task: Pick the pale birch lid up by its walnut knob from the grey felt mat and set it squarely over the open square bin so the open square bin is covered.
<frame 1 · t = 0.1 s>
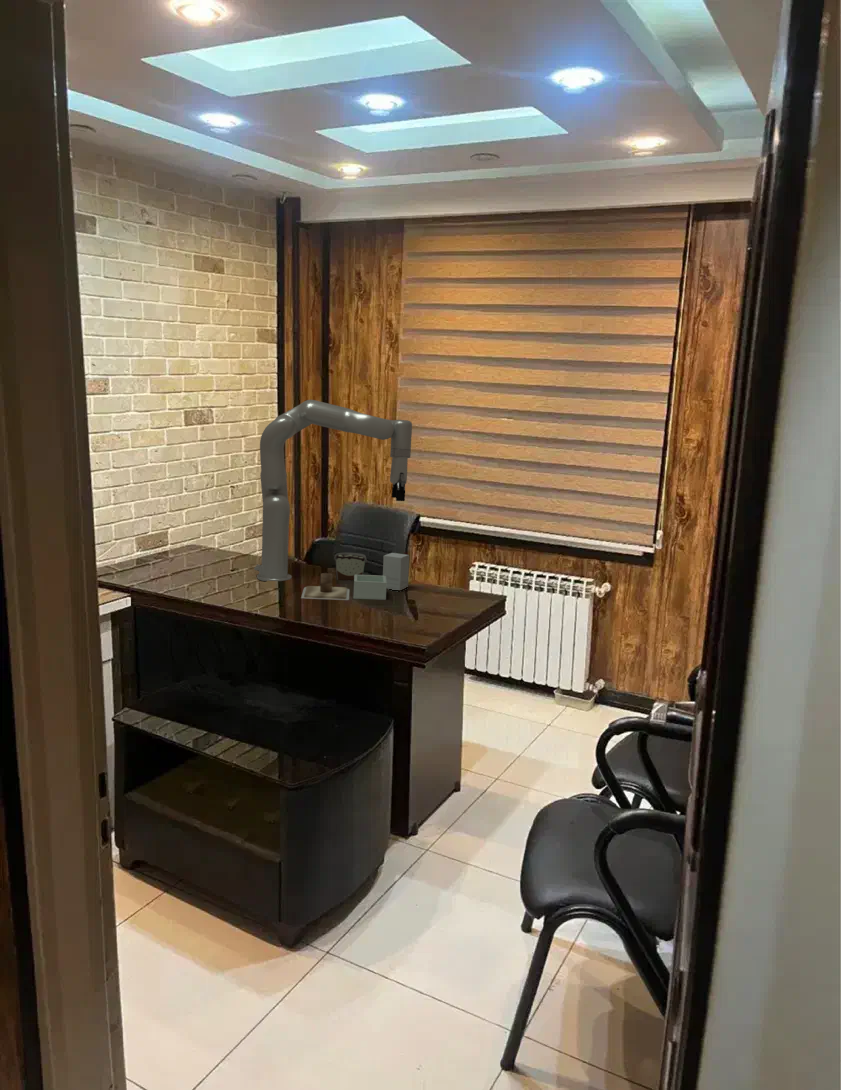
hand: (398, 499, 307), 31 cm above the table, tool pointing down, fingers open, 9 cm apart
mat: (325, 595, 282), on the table
supplement box: (394, 589, 298), on the table
grey half-round piece: (350, 580, 308), on the table
open square bin: (369, 596, 284), on the table
lid: (325, 593, 282), point 1 cm above the table, touching mat
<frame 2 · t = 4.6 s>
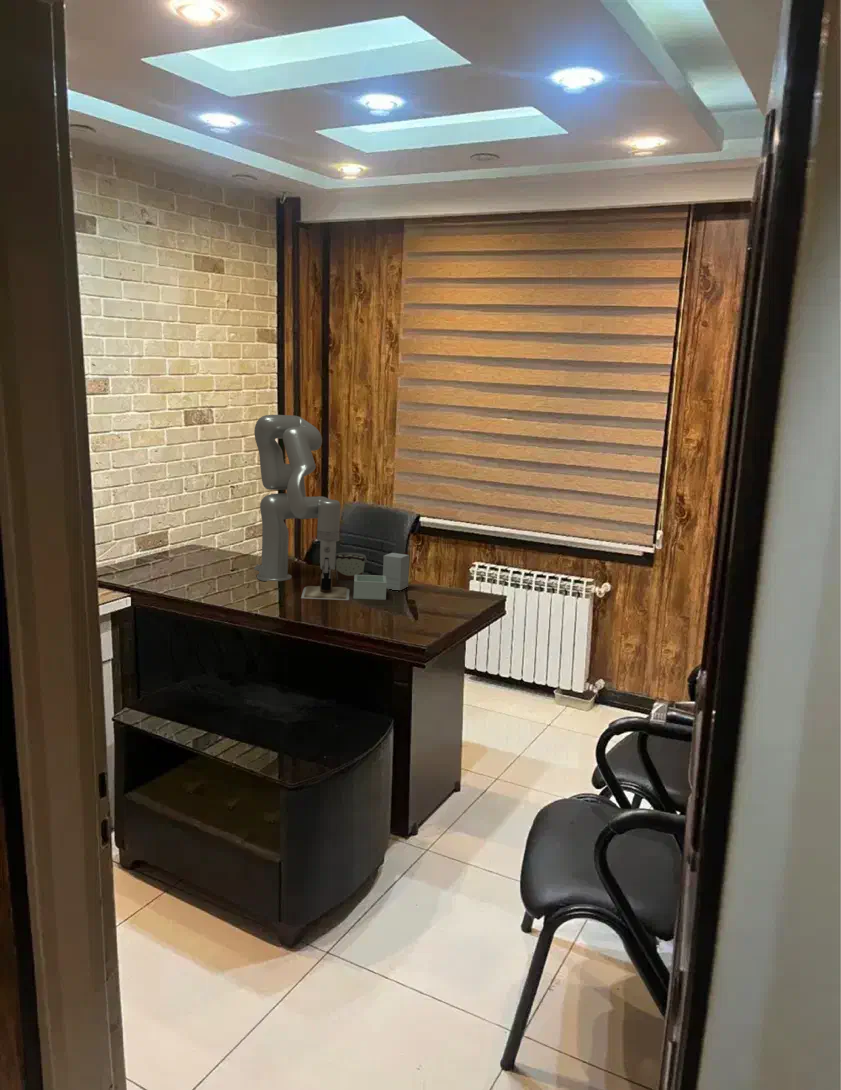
hand: (326, 587, 282), 3 cm above the table, tool pointing down, fingers closed on lid, 4 cm apart
lid: (325, 593, 282), point 1 cm above the table, touching gripper, mat
everything else where it was.
when the fingers open (10 cm above the table, at t = 9.4 s): lid drops 1 cm, resting on open square bin.
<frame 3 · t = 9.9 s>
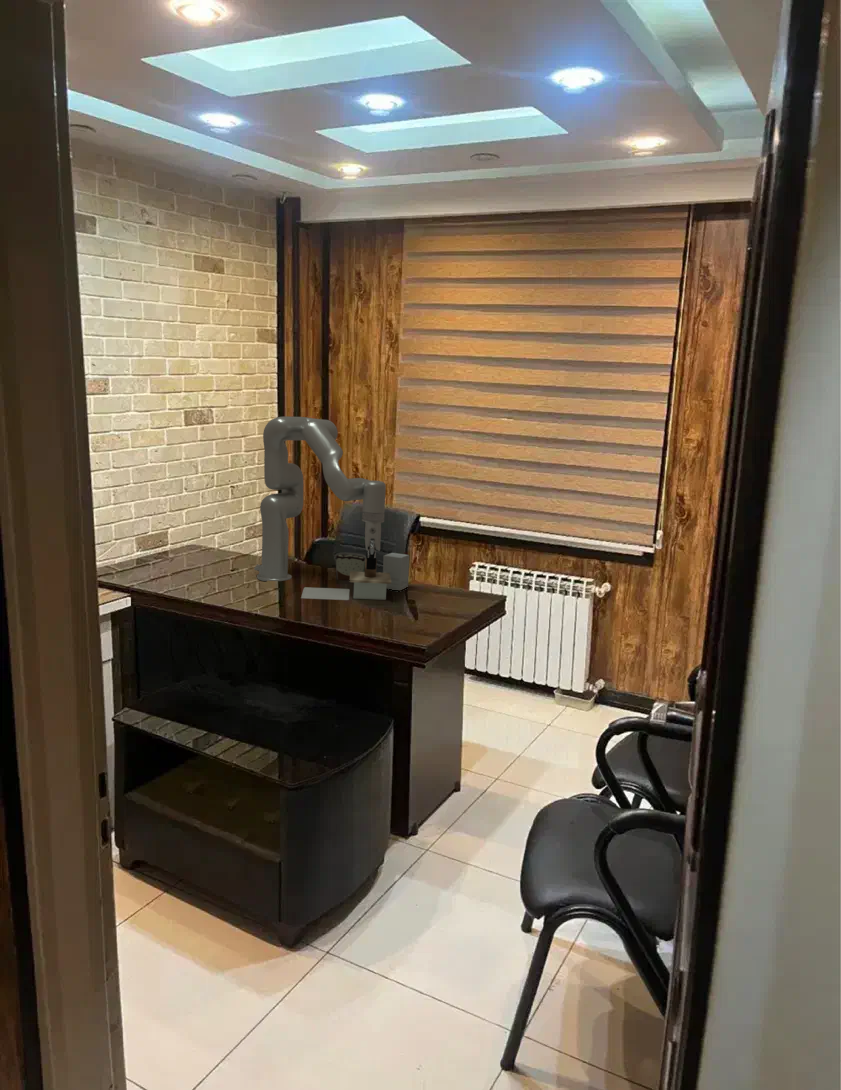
hand: (370, 566, 282), 11 cm above the table, tool pointing down, fingers open, 9 cm apart
lid: (370, 578, 283), point 6 cm above the table, touching open square bin
everything else where it was.
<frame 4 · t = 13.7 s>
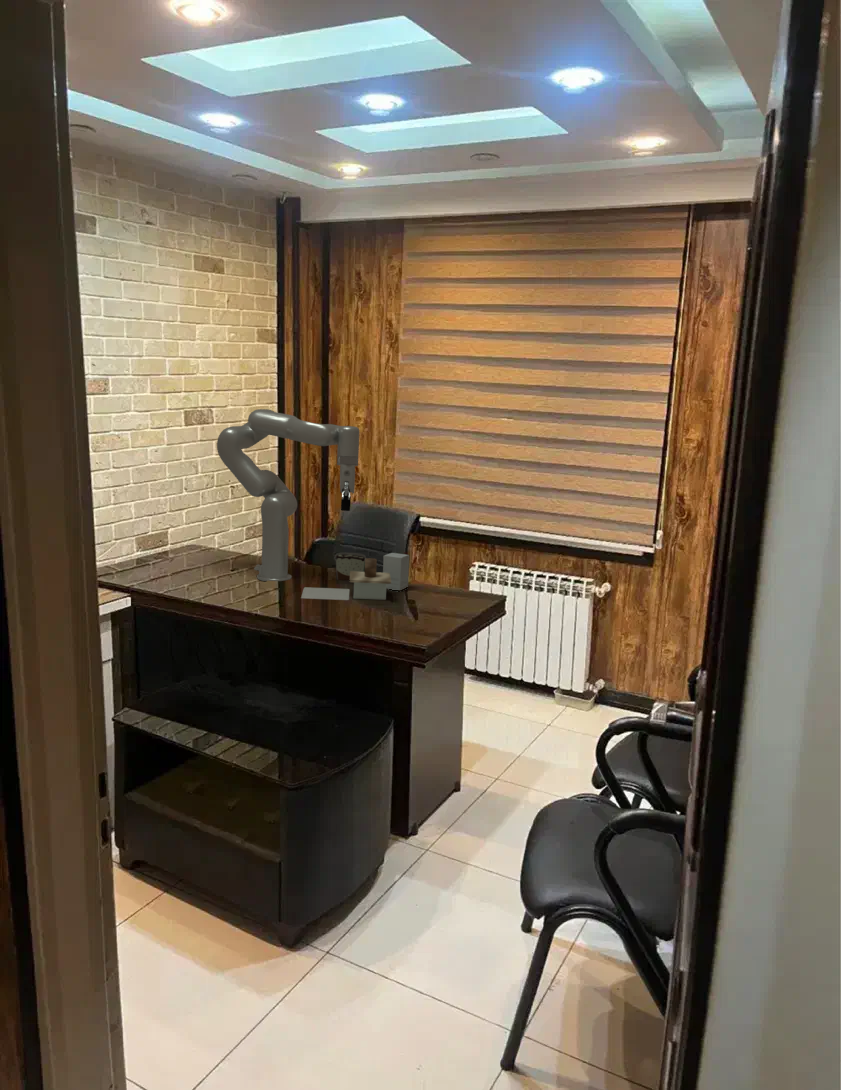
hand: (345, 508, 293), 28 cm above the table, tool pointing down, fingers open, 9 cm apart
nothing on the table moved.
at the end: lid 0.1 cm off-centre on the open square bin, point 6.5 cm above the open square bin's base; lid tilted 0°; the gripper is holding nothing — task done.
